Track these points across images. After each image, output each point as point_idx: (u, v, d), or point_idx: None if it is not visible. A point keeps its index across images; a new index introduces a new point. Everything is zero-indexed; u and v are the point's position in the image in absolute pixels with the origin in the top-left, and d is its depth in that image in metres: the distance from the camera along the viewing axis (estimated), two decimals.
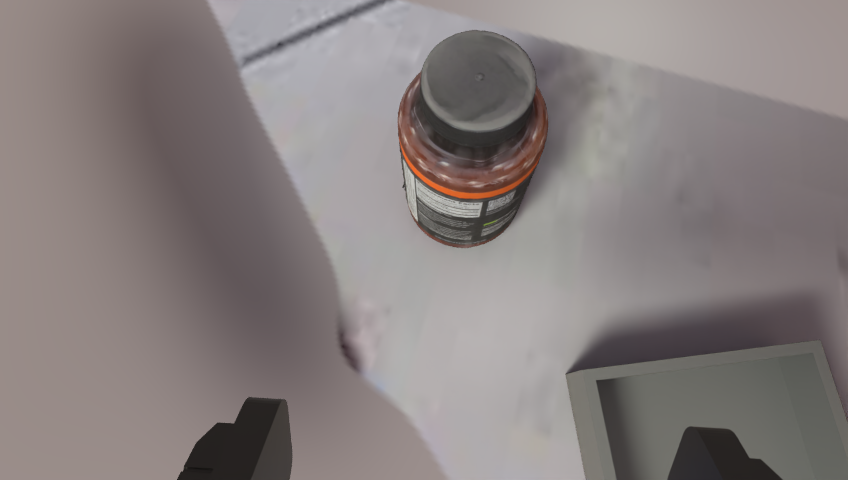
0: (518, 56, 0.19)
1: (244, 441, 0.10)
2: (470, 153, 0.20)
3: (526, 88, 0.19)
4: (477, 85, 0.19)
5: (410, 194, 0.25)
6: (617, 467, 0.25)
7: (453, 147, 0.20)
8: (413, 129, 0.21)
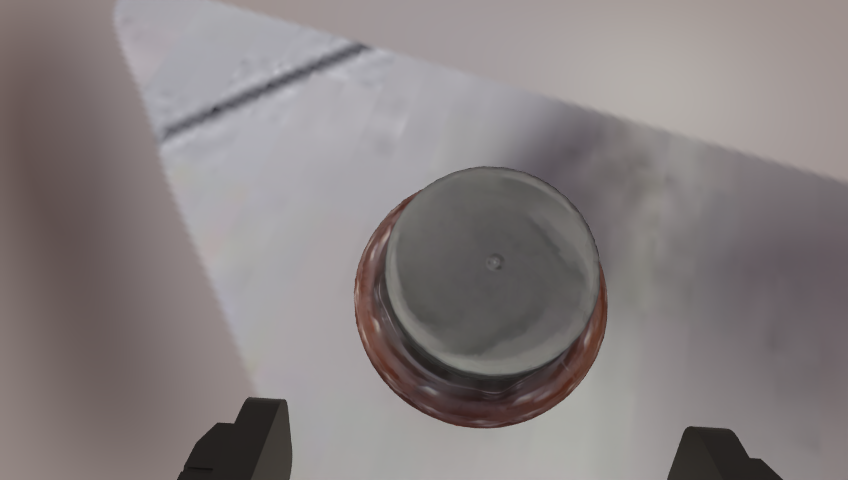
0: (566, 221, 0.10)
1: (244, 441, 0.10)
2: (474, 382, 0.11)
3: (582, 287, 0.10)
4: (490, 279, 0.10)
5: None
6: None
7: (444, 371, 0.11)
8: (377, 322, 0.12)
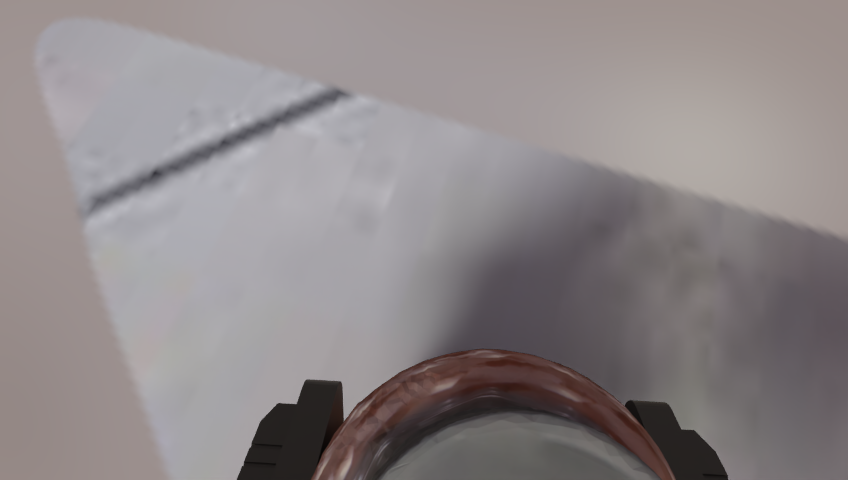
0: None
1: (308, 419, 0.10)
2: None
3: None
4: None
5: None
6: None
7: None
8: None
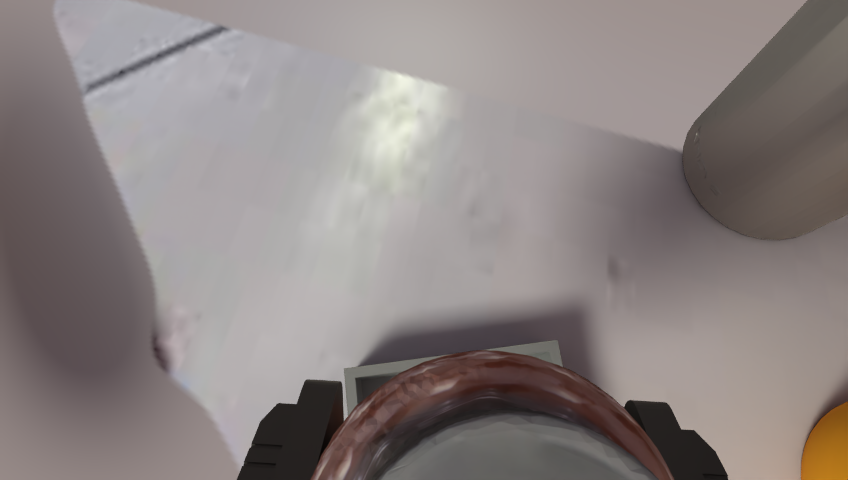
0: None
1: (308, 419, 0.10)
2: None
3: None
4: None
5: None
6: None
7: None
8: None
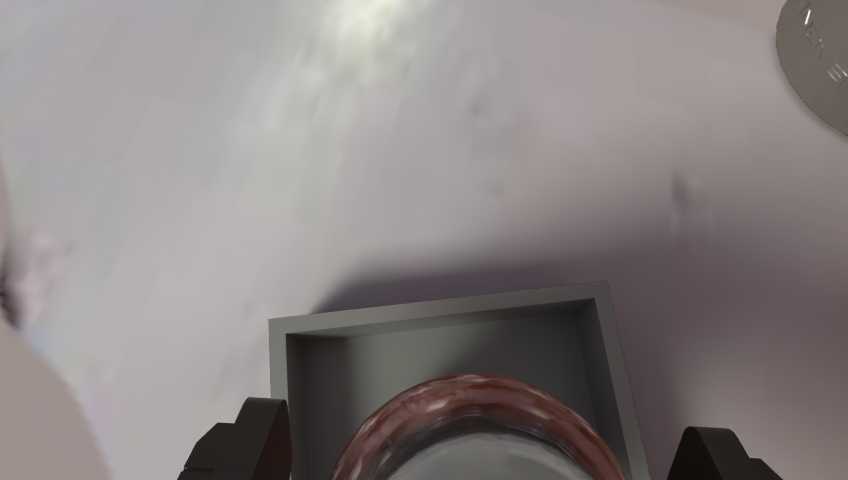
0: None
1: (244, 441, 0.10)
2: None
3: None
4: None
5: None
6: (336, 457, 0.18)
7: None
8: None
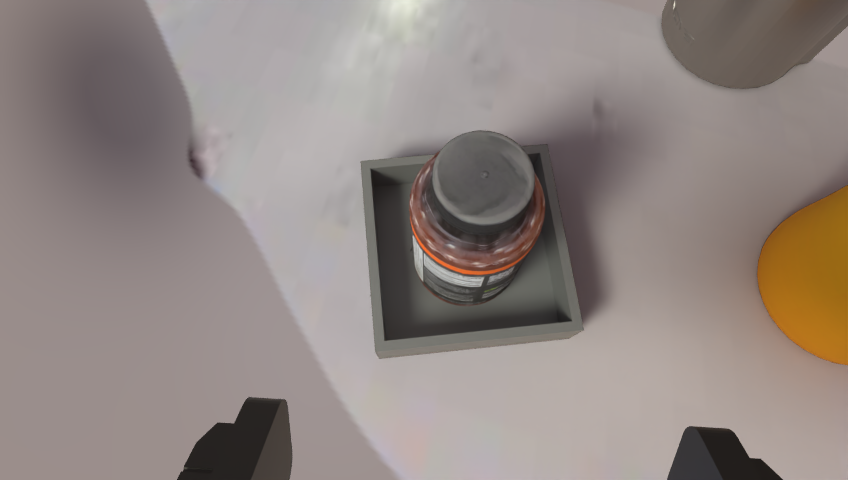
0: (519, 156, 0.21)
1: (244, 441, 0.10)
2: (474, 239, 0.22)
3: (526, 186, 0.21)
4: (482, 181, 0.21)
5: (417, 261, 0.27)
6: (394, 245, 0.32)
7: (459, 233, 0.22)
8: (423, 213, 0.23)
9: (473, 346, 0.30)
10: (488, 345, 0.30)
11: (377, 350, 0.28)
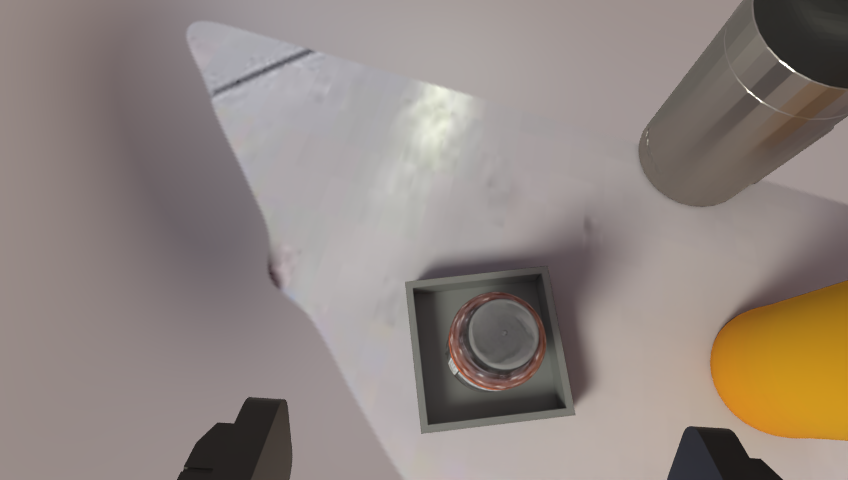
0: (528, 318, 0.31)
1: (244, 441, 0.10)
2: (497, 372, 0.32)
3: (533, 341, 0.30)
4: (503, 338, 0.31)
5: (452, 367, 0.37)
6: (430, 343, 0.42)
7: (486, 368, 0.32)
8: (460, 350, 0.33)
9: None
10: None
11: (422, 432, 0.37)
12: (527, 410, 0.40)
